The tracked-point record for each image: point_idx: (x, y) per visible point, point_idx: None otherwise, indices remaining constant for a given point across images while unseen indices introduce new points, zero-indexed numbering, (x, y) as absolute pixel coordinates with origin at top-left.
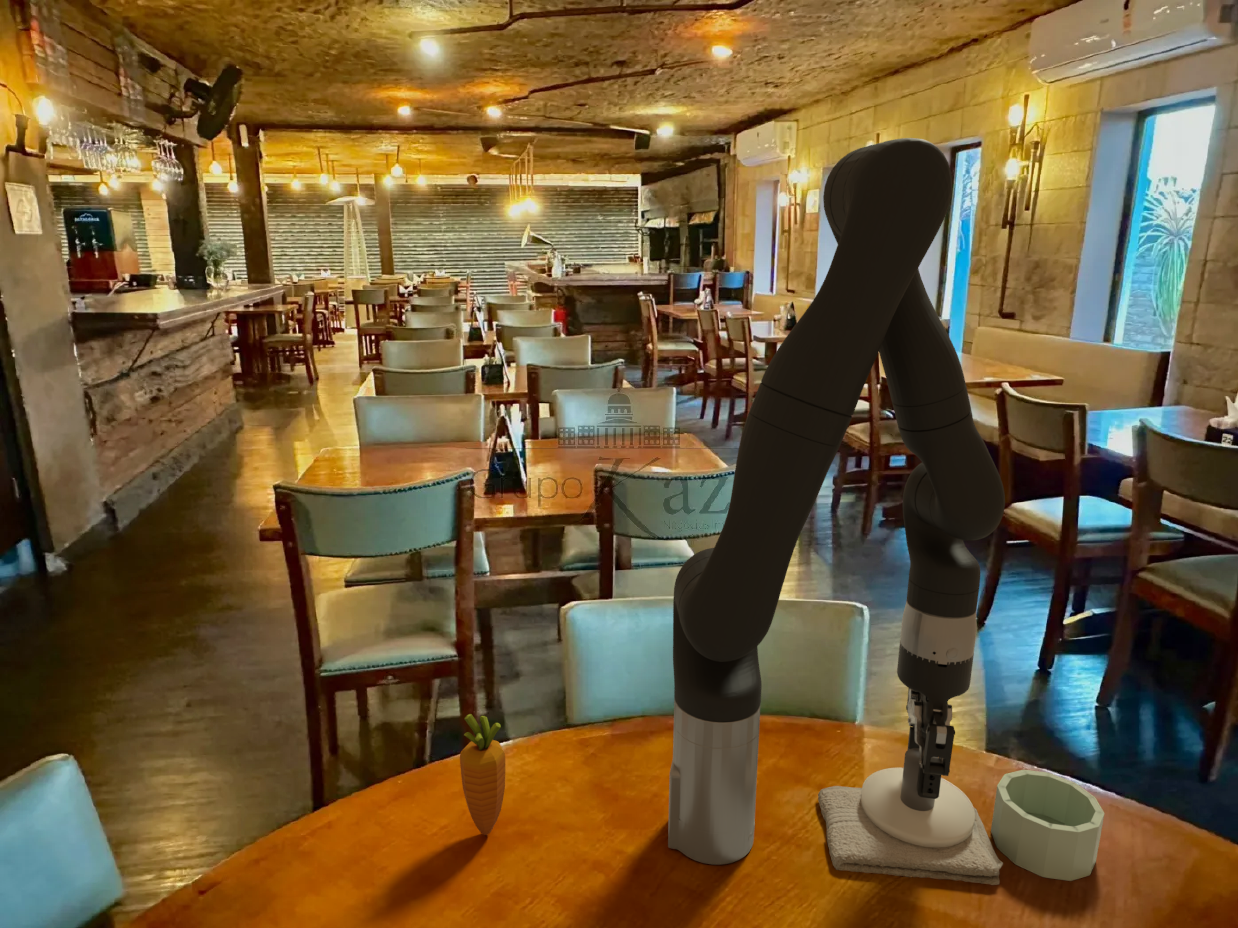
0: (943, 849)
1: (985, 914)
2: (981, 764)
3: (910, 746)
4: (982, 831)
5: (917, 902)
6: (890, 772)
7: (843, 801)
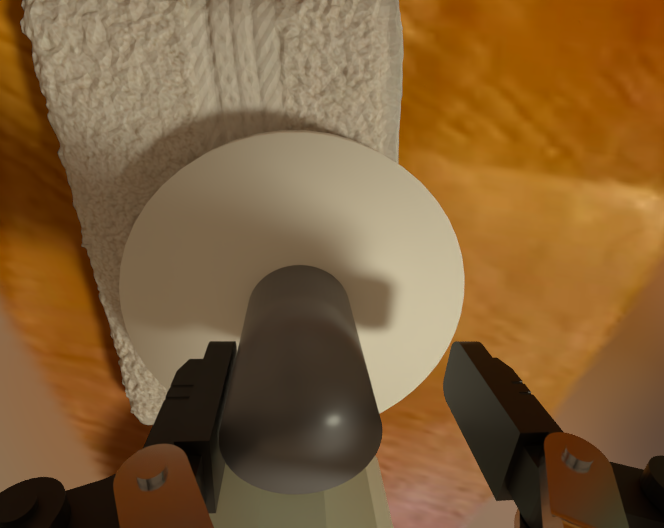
0: None
1: (46, 362)
2: None
3: (472, 371)
4: None
5: (13, 232)
6: (436, 253)
7: (315, 63)
